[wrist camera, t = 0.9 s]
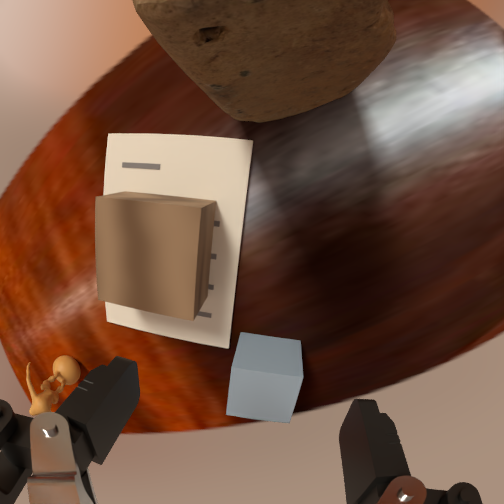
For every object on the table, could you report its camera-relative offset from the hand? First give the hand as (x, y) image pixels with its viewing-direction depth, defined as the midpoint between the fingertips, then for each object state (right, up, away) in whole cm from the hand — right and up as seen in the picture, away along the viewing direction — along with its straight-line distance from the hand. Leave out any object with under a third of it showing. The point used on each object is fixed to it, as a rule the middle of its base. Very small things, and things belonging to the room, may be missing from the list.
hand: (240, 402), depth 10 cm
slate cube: (+2, -6, +20) cm, 21 cm away
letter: (-8, +6, +18) cm, 20 cm away
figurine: (-23, -9, +24) cm, 34 cm away
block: (+3, +20, +13) cm, 24 cm away
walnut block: (-8, +6, +18) cm, 20 cm away
